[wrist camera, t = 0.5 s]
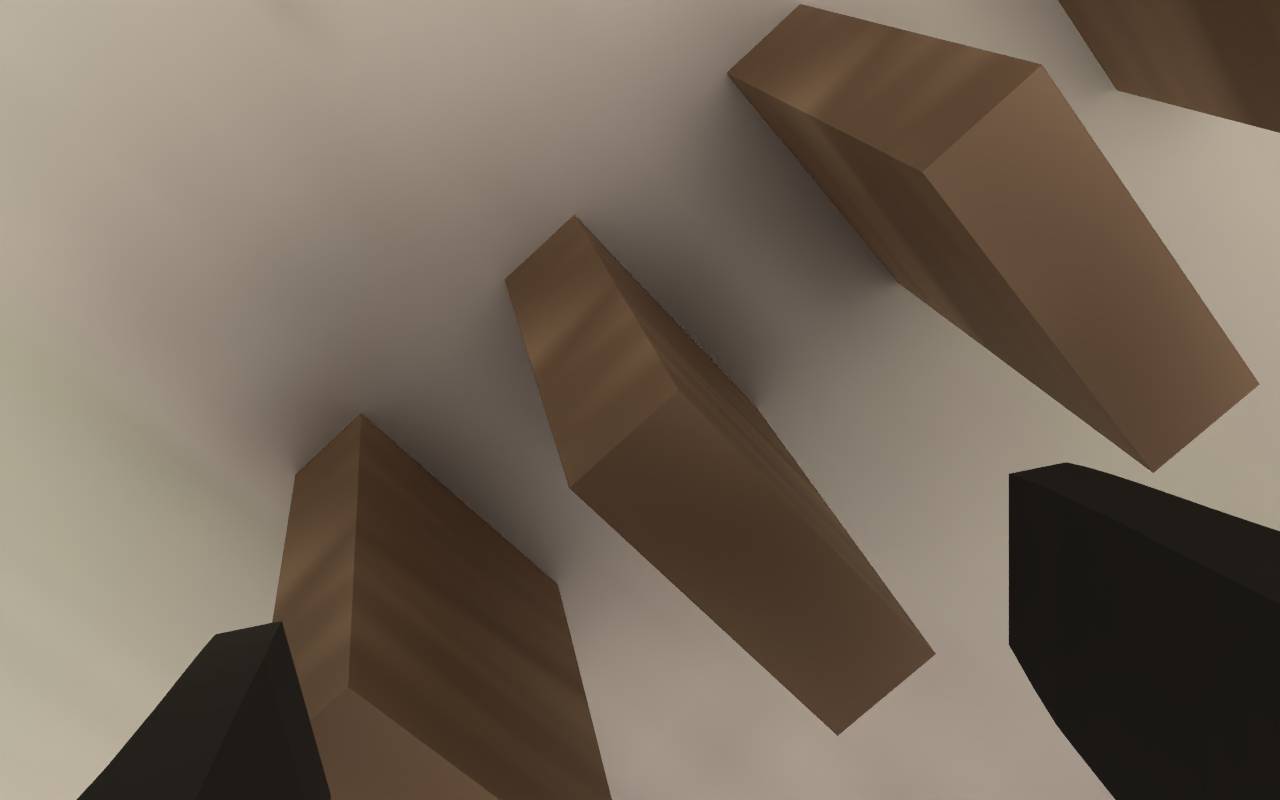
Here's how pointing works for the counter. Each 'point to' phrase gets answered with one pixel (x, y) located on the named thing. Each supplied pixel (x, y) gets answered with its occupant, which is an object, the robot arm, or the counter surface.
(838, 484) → the counter surface
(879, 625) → the walnut domino
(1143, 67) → the walnut domino
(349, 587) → the walnut domino
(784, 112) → the walnut domino
